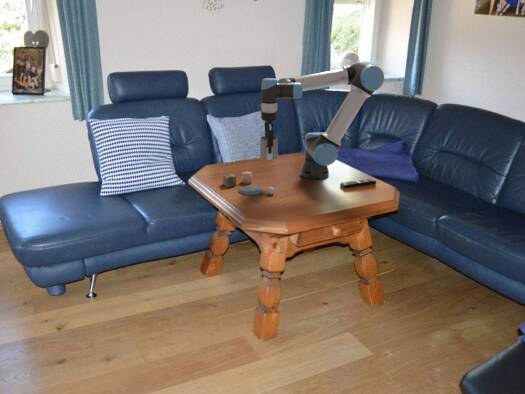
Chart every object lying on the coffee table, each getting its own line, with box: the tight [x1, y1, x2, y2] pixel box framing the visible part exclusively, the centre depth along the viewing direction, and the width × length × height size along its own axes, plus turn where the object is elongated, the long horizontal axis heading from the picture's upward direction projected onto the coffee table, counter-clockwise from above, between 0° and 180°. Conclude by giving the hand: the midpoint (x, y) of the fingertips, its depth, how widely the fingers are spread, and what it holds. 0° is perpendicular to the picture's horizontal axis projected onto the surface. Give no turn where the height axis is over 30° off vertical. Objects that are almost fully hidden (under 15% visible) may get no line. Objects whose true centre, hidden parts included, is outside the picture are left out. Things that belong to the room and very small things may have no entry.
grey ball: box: [266, 186, 275, 196], centre depth 245 cm, size 4×4×4 cm
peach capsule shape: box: [241, 171, 253, 185], centre depth 261 cm, size 5×5×5 cm
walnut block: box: [222, 173, 237, 188], centre depth 257 cm, size 5×5×5 cm
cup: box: [259, 135, 279, 161], centre depth 252 cm, size 8×8×10 cm
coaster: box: [238, 185, 264, 196], centre depth 249 cm, size 12×12×1 cm
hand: (268, 157), depth 253 cm, fingers closed on cup, 8 cm apart
